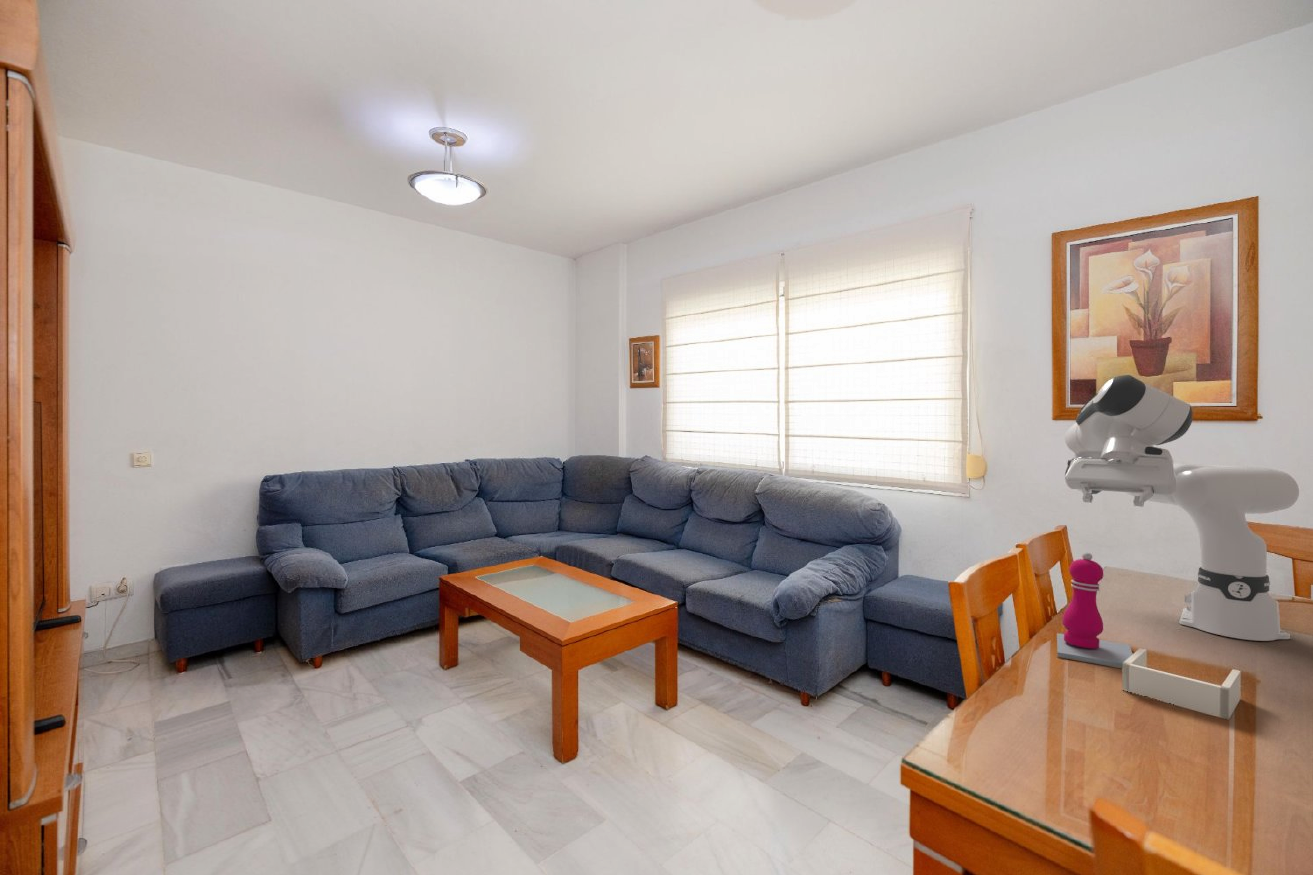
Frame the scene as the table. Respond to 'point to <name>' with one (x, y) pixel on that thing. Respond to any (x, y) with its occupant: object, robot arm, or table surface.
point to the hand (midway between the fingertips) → (1111, 502)
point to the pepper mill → (1084, 604)
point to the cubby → (1181, 687)
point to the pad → (1095, 652)
